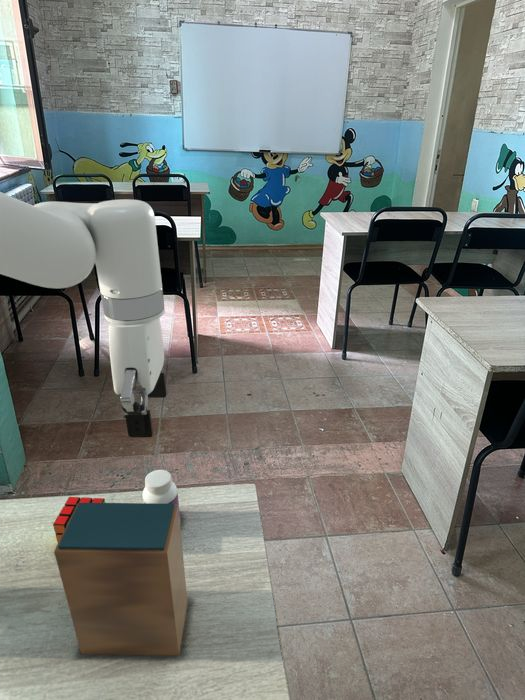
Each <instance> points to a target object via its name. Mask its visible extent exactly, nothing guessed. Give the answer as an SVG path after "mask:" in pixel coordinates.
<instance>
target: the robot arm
mask: <svg viewBox="0 0 525 700" xmlns="http://www.w3.org/2000/svg"><path fill="white" fill-rule="evenodd" d="M156 224H157V223H156V218H155V212H154V209H153V208H152V207H151V205H150V204H149V203H147V202H146V201H143V200H139V199H110V200H103V201H99V202H98V203H96V202H95V203H92V202H91V203H89V202H69V201H42V202H39V203H36V204H30V203H28V202H25V201H22V200H21V199H18V198H16V197H13V196H11V195H9V194H6V193H4V192H2V191H0V275H2V276H5V277H9V278H11V279H15V280H18V281H20V282H24V283H27V284H29V285H33V286H36V287H37V286H38V287H41V288H47V289H67V288H71V287H74V286H76V285H78V284H80V283H82V282H83V281H84V280H85V279H87V278H88V277H89V275H90V274H91V272H92V270H93V269H94V266H95V268H96V274H97V279H98V281H97V282H98V287H99V292H100V299H101V304H102V310H103V317H104V319H105V320H106V321H107V322H108V348H109V360H110V368H111V376H112V378H111V379H112V384H113V391H114V393H115V394H116V395H118V396H119V395H120V399H119V400H120V403H121V406H122V407H121V408H122V410H123V415H124V419H125V423H126V429H127V435H128V437H129V438H152V437H153V435H154V428H153V421H152V415H151V409H148V404H149V403H148V402H149V399H153V398H154V399H156V398H157V399H158V398H159V399H161V398H163V399H164V398H166V397H167V395H168V393H167V384H166V375H165V372H164V370H165V368H164V367H165V366H164V363H165V348H164V340H163V338H164V337H163V332H162V325H161V320H160V318H161V317H163V315H164V314H165V313H166V309H165V301H164V300H165V299H164V289H163V282H162V273H161V262H160V253H159V245H158V234H157V225H156ZM137 386H141V388H142V389H141V388H140V389H139V388H138V389H136V387H137ZM135 396H141V401H140V402H138V401H136V397H135Z"/></svg>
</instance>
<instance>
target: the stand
mask: <svg viewBox="0 0 525 700" xmlns="http://www.w3.org/2000/svg"><path fill="white" fill-rule="evenodd" d="M78 504H79V503H78ZM78 504H77V505H76V507H75V510H74V512H73V514H72V516H71V518H70V520H69V522H68V524H67V526H66V528H65V530H64V532H63V534H62V536H61V538H60V540H59V542H57V544H56V547H55V549H54V552H53V553H54V556H55V560H56V564H57V568H58V571H59V575H60V578H61V584H62V587H63V590H64V591H63V592H64V594H65V595H64V596H65V598H66V602H67V606H68V610H69V613H70V617H71V621H72V625H73V629H74V632H75V635H76V640H77V644H78V647H79V651H80V655H115V656H116V655H117V656H119V655H120V656H121V655H123V656H125V655H127V656H179V655H180V652H181V646H182V641H183V640H182V639H183V634H184V629H185V628H184V627H185V622H186V616H187V609H188V593H187V583H186V574H185V563H184V562H185V561H184V552H183V542H182V531H181V518H180V519H179V512H180V508H179V509H178V505H175V504H174V510H173V514H172V518H171V522H170V527H169V531H168V535H167V539H166V543H165V548H164V550H99V549H59V548H58V546H59V544H60V542H61V540H62V538H63V536H64V533H65V531H66V529H67V527H68V525H69V523H70V521H71V519H72V517H73V515H74V513H75V511H76V509H77V506H78Z"/></svg>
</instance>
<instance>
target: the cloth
mask: <svg viewBox="0 0 525 700" xmlns="http://www.w3.org/2000/svg"><path fill="white" fill-rule="evenodd" d="M173 510H174V504H156V503H143V502H142V503H141V502H105V503H79V504H78V506H77V509H76V511H75V513H74V515H73V517H72V519H71V521H70V523H69V525H68V527H67V529H66V531H65V533H64V536H63V538H62V540H61V542H60V544H59V546H58V548H59V549H99V550H164V548H165V543H166V539H167V535H168V531H169V527H170V522H171V518H172V514H173Z"/></svg>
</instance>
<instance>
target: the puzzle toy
mask: <svg viewBox="0 0 525 700" xmlns="http://www.w3.org/2000/svg"><path fill="white" fill-rule="evenodd" d="M78 503H106V499H105V498H102V497H94V498H93V497H83V496H82V497H80V496H69V497H68V498H67V500H66V501H65V503H64V506H62V508H61V510H60V511H59V513H58V515H57V517H56V519H55V520H54V522H53V523H52V526H53V531H54V533H55V539H56V543H58V542H59V540H60V538H61V536H62V534H63V532H64V530H65V528H66V526H67V524H68V522H69V520H70V518H71V516H72V514H73V512H74V510H75V507H76V505H77V504H78Z"/></svg>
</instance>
